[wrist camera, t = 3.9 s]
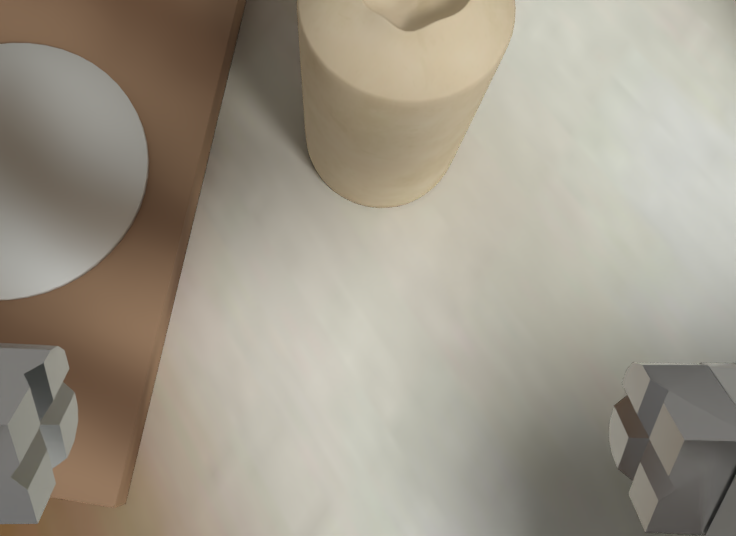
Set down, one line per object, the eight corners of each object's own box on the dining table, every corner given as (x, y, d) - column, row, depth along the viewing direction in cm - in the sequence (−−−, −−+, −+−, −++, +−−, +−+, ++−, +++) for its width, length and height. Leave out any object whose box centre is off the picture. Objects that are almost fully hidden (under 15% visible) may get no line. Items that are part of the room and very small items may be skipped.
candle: (274, 133, 25) (243, -49, 16) (382, 44, 26) (416, -179, 17) (377, 240, 25) (411, 120, 15) (484, 144, 26) (581, -27, 16)
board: (125, 503, 22) (111, 509, 21) (-250, 439, 22) (-290, 440, 20) (253, -32, 27) (249, -58, 25) (-55, -90, 26) (-77, -120, 25)
